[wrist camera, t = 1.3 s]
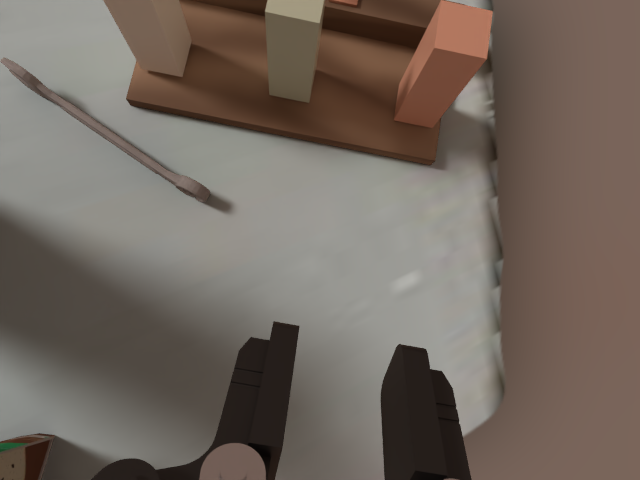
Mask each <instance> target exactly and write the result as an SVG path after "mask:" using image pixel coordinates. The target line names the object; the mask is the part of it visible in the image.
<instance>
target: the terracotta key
mask: <svg viewBox="0 0 640 480" xmlns="http://www.w3.org/2000/svg"><path fill="white" fill-rule="evenodd" d="M492 12H493V11H489V10H485V9H480V8H475V7H471V6H466V5H462V4H457V3H453V2H448V1H443V0H441V1H440V3H439V5H438V7H437V9H436V11H435V13H434V15H433V17H432V19H431V21H430V23H429V25H428V27H427V29H426V31H425V33H424V35H423V37H422V39H421V41H420V43H419V45H418V47H417V49H416V51H415V53H414V55H413V57H412V59H411V61H410V63H409V65H408V67H407V69H406V71H405V73H404V75H403V77H402V79H401V81H400V83H399V89H398V95H397V101H396V108H395V114H394V120H395V121H400V122H405V123H409V124H414V125H419V126H424V127H429V128H433V127H434V125H435V124H436V123H437V122H438V120H439V119H440V118H441V117H442V115H443V114H444V113H445V111H446V110H447V109H448V108H449V106H450V105H451V104H452V103H453V101H454V100H455V99H456V97H457V96H458V95H459V94H460V92H461V91H462V90H463V89H464V87H465V86H466V85H467V84H468V82H469V81H470V80H471V78H472V77H473V76H474V75H475V73H476V72H477V71H478V70H479V68H480V67H481V66H482V64H483V63H484V62H485V61H486V59H487V54H488V45H489V37H490V29H491V21H492Z"/></svg>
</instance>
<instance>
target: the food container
mask: <svg viewBox="0 0 640 480" xmlns="http://www.w3.org/2000/svg"><path fill="white" fill-rule="evenodd" d="M54 437H55V435H48V434H40V433H39V434H33V435H27V436H21V437H16V438H13V439H9V440H5V441H1V442H0V480H41V479H42V475H43V472H44V469H45V466H46V462H47V459H48V456H49V453H50V450H51V446H52V443H53V440H54Z"/></svg>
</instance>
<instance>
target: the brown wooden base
mask: <svg viewBox="0 0 640 480" xmlns="http://www.w3.org/2000/svg"><path fill="white" fill-rule="evenodd" d="M440 1H441V0H325V7H324V15H323V22H322V29H321V36H320V43H319V50H318V58H317V65H316V70H315V76H314V81H313V86H312V91H311V96H310V101H309V103H307V102H302V101H297V100H292V99H287V98H282V97H277V96H272V95H269V80H268V60H267V41H266V21H265V9H266V5H267V0H179V2H180V5H181V9H182V12H183V15H184V18H185V21H186V24H187V27H188V31H189V34H190V37H191V40H192V42H191V46H190V50H189V54H188V57H187V61H186V65H185V69H184V73H183V77H179V76H174V75H169V74H164V73H159V72H155V71H150V70H145V69H141V67H140V65H139V63H138V62H137V61H136V65H135V68H134V72H133V75H132V79H131V83H130V86H129V90H128V94H127V97H126V99H127V101H128V102H129V104H130V105H132V106H137V107H142V108H147V109H152V110H157V111H162V112H167V113H172V114H177V115H182V116H187V117H192V118H197V119H202V120H207V121H212V122H217V123H222V124H227V125H232V126H237V127H242V128H247V129H252V130H257V131H262V132H267V133H272V134H277V135H282V136H287V137H292V138H297V139H302V140H307V141H312V142H317V143H322V144H327V145H332V146H337V147H342V148H347V149H352V150H357V151H362V152H367V153H372V154H377V155H382V156H387V157H392V158H397V159H402V160H407V161H412V162H417V163H422V164H427V165H431V164H432V163H433V162H434V161H435V158H436V151H437V143H438V136H439V129H440V121H441V118H440V119H439V120H438V122H437V123H436V124H435V125H434V127H433V128H429V127H424V126H419V125H414V124H409V123H405V122H400V121H395V120H394V114H395V108H396V101H397V95H398V89H399V83H400V81H401V79H402V77H403V75H404V73H405V71H406V69H407V67H408V65H409V63H410V61H411V59H412V57H413V55H414V53H415V51H416V49H417V47H418V45H419V43H420V41H421V39H422V37H423V35H424V33H425V31H426V29H427V27H428V25H429V23H430V21H431V19H432V17H433V15H434V13H435V11H436V9H437V7H438V5H439V3H440ZM443 1H446V0H443ZM448 2H450V1H448ZM453 3H455V2H453ZM457 4H460V3H457ZM462 5H464V4H462Z"/></svg>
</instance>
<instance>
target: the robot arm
mask: <svg viewBox="0 0 640 480" xmlns="http://www.w3.org/2000/svg"><path fill="white" fill-rule="evenodd" d="M298 332H299V326H297V325H291V324H286V323H280V322H273V327H272V332H271V337H270V341H269V340H264V339H258V338H252V337H251V338H250V339H249V340H248V341H247V342H246V343H245V345H244V346H243V347H242V348H241V349H240V350H239V353H238V357H237V361H236V364H235V368H234V372H233V375H232V379H231V383H230V386H229V390H228V394H227V397H226V401H225V405H224V408H223V412H222V416H221V419H220V423H219V427H218V430H217V434H216V437H215V440H214V442H213V444H212V446H211V447H210V448H209V450H208V451H207V452H206V453H205V454H204V455H203V456H201V457H200V458H199V459H197V460H195V461H193V462H191V463H188V464H186V465H182V466H177V467H171V468H165V469H159V470H155V469H154V468H153V467H152V466H151V465H150V464H149V463H147V462H145V461H143V460H140V459H123V460H119V461H116V462H114V463H111V464H109V465H108V466H106V467H105V468H103V469H102V470H101V471H100V472H99V473H98V474H96V475H95V476H94V477H93V478H92V479H91V480H275V476H276V472H277V467H278V463H279V459H280V455H281V451H282V446H283V439H284V432H285V425H286V418H287V411H288V404H289V397H290V389H291V382H292V375H293V368H294V361H295V354H296V347H297V340H298ZM381 416H382V436H383V455H384V475H385V480H471V476H470V471H469V466H468V461H467V456H466V451H465V446H464V441H463V437H462V432H461V427H460V424H459V417H458V412H457V410H456V403H455V398H454V393H453V388H452V387H451V385H450V383H449V382H448V380H447V379H446V377H445V375H444V374H443V372H442V371H437V370H432V369H430V365H429V359H428V354H427V351H426V349H424V348H418V347H413V346H407V345H401V344H399V345H398V346H397V347H396V350H395V352H394V354H393V357H392V359H391V362H390V364H389V367H388V369H387V372H386V374H385V377H384V380H383V383H382V389H381Z"/></svg>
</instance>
